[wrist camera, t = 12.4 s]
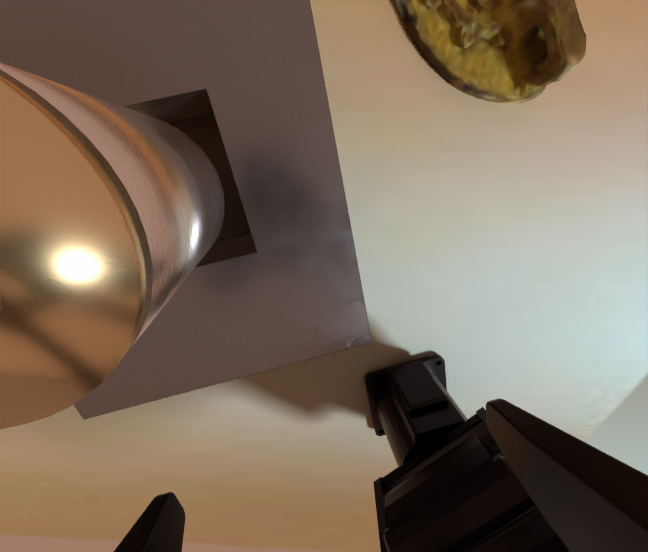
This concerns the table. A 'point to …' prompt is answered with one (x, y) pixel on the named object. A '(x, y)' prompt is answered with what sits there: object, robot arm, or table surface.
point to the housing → (247, 167)
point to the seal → (497, 43)
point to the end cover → (88, 236)
